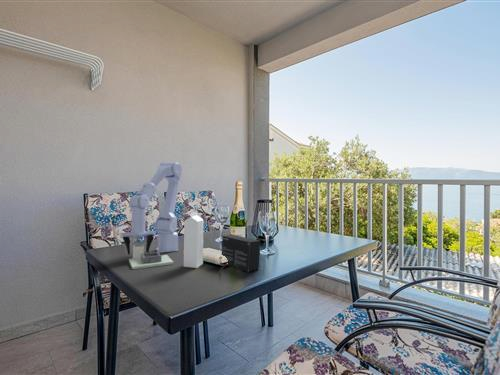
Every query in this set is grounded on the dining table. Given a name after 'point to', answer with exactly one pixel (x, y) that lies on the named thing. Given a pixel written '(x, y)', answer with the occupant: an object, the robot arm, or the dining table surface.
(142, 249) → the plug
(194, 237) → the milk
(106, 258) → the dining table surface
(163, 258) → the board
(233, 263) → the box
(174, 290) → the dining table surface
